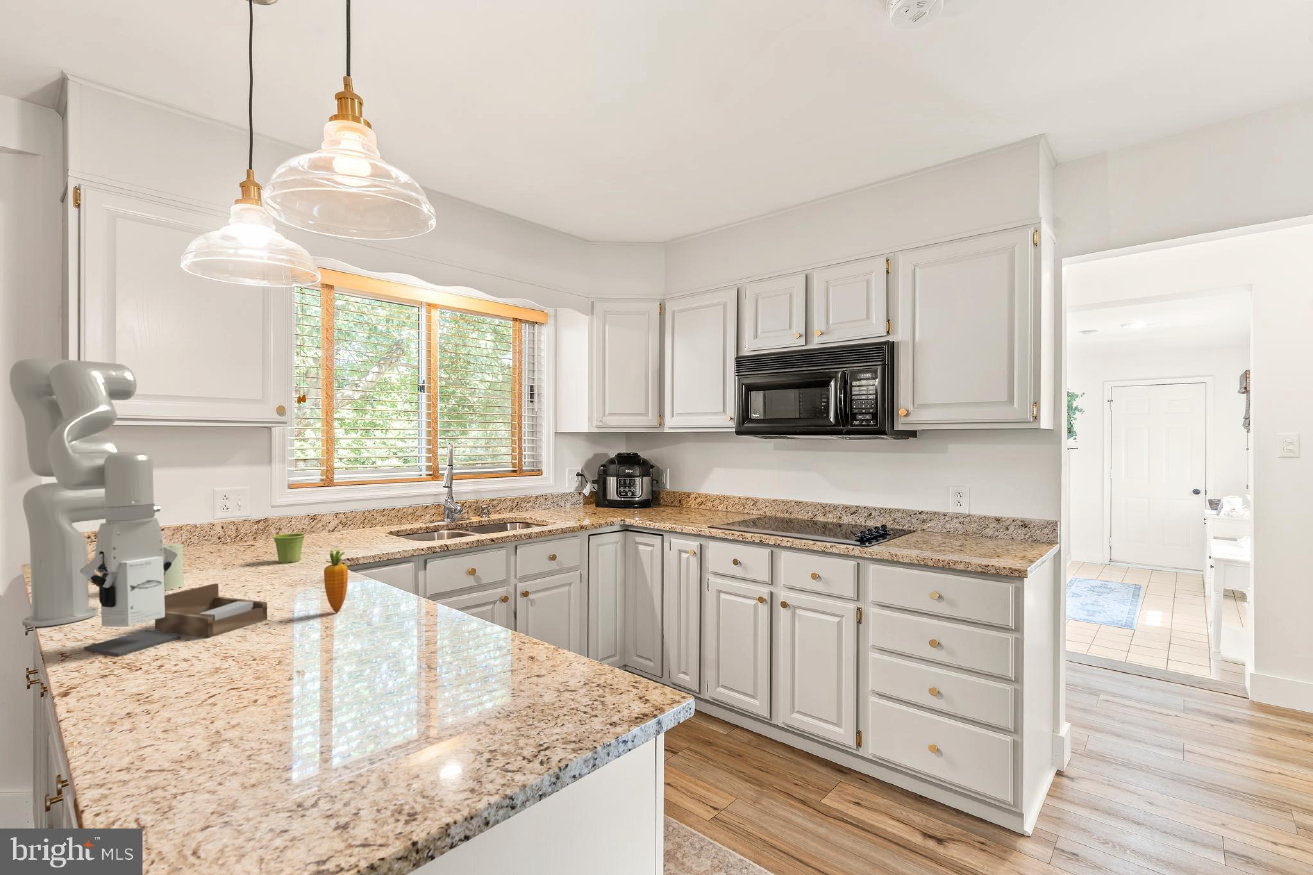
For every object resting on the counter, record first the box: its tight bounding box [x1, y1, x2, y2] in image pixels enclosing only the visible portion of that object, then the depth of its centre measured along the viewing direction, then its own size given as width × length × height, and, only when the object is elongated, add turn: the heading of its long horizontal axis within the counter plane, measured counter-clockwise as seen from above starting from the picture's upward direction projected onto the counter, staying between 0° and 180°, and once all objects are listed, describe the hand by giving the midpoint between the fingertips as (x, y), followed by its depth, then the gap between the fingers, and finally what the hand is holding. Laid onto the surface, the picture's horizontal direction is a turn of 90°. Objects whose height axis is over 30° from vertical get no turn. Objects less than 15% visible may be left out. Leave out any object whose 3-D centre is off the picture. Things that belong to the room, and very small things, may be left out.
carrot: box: [323, 549, 349, 614], centre depth 146 cm, size 5×5×15 cm
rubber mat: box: [83, 629, 182, 657], centre depth 126 cm, size 11×11×1 cm
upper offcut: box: [199, 601, 253, 621], centre depth 136 cm, size 4×10×2 cm, turn 168°
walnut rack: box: [154, 583, 268, 639], centre depth 138 cm, size 17×13×7 cm
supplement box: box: [99, 557, 165, 628], centre depth 126 cm, size 7×7×13 cm
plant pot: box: [272, 533, 306, 564], centre depth 206 cm, size 9×9×9 cm
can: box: [163, 543, 185, 591], centre depth 172 cm, size 9×9×12 cm
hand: (132, 600), depth 126 cm, fingers closed on supplement box, 7 cm apart
